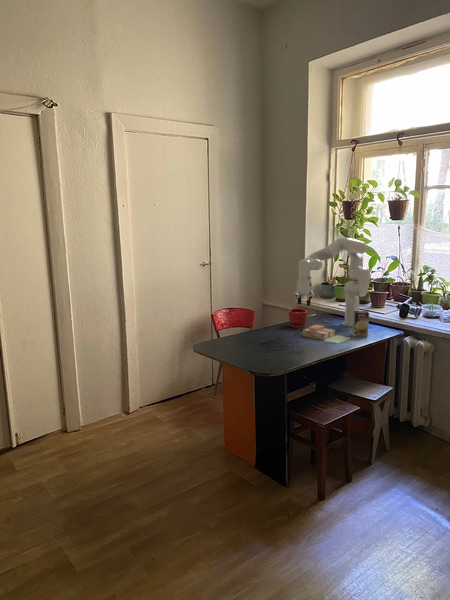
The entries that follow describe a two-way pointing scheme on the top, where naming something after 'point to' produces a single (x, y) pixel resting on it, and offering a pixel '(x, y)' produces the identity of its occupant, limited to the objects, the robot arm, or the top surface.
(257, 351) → the top surface
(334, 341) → the mat
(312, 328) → the salmon brown flat block
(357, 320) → the coffee box
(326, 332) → the deck
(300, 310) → the plant pot
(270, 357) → the top surface
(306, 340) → the top surface
